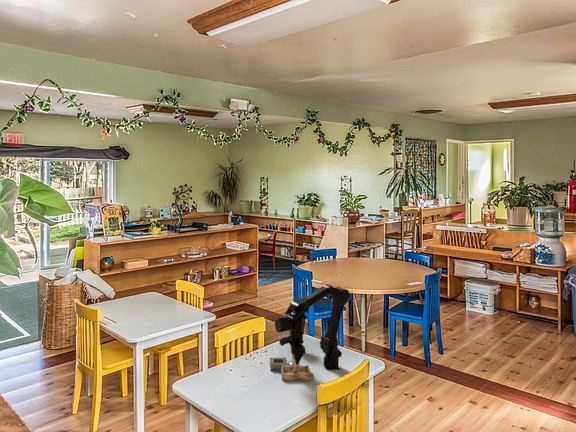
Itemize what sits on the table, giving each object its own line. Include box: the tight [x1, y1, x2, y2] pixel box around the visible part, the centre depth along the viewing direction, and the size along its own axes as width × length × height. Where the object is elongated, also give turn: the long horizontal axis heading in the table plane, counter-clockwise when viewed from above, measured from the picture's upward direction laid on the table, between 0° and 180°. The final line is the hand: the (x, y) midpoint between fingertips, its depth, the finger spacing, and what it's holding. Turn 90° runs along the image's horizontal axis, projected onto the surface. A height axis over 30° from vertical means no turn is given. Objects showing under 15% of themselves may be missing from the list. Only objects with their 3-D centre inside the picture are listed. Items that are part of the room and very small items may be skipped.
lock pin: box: [291, 353, 300, 374], centre depth 206 cm, size 4×4×10 cm
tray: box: [280, 364, 312, 382], centre depth 206 cm, size 13×9×3 cm
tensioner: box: [269, 357, 292, 372], centre depth 215 cm, size 14×8×3 cm, turn 95°
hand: (296, 361), depth 205 cm, fingers open, 7 cm apart
